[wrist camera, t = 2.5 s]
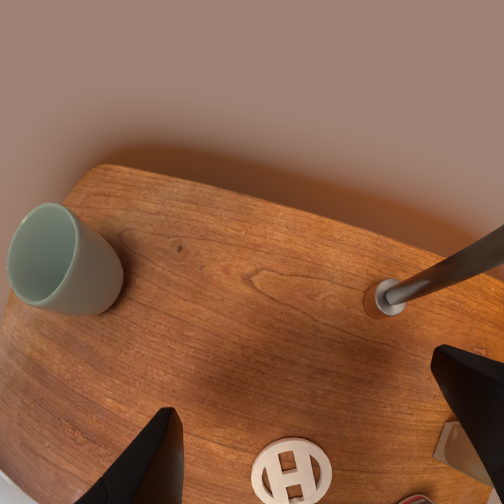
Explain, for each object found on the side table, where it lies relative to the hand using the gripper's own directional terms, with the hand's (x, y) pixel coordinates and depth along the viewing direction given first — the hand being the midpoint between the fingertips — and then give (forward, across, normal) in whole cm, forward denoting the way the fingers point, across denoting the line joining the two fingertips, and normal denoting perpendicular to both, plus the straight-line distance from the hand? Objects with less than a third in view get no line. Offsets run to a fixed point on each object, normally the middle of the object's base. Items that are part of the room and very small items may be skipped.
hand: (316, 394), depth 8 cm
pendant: (+6, +1, +20) cm, 20 cm away
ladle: (+15, -10, +6) cm, 19 cm away
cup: (+19, +16, +1) cm, 25 cm away
